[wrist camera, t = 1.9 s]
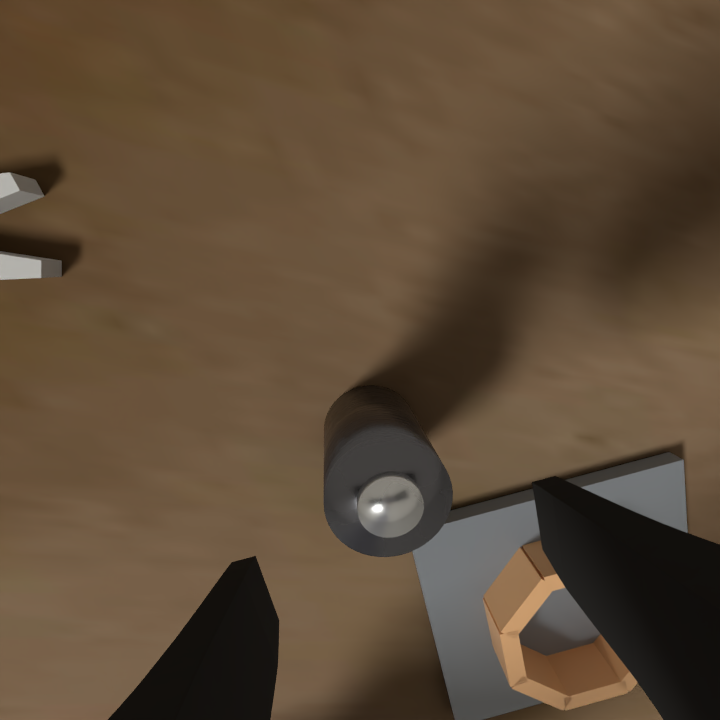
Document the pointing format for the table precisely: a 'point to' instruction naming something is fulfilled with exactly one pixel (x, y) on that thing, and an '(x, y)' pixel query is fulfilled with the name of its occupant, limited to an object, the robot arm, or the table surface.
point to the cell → (381, 475)
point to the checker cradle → (528, 598)
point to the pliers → (3, 197)
